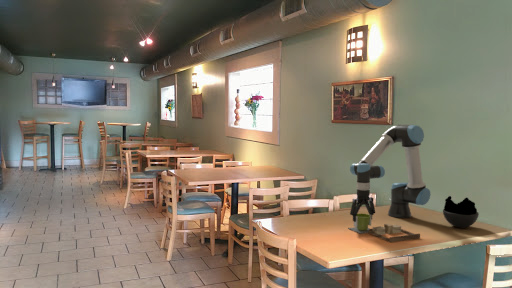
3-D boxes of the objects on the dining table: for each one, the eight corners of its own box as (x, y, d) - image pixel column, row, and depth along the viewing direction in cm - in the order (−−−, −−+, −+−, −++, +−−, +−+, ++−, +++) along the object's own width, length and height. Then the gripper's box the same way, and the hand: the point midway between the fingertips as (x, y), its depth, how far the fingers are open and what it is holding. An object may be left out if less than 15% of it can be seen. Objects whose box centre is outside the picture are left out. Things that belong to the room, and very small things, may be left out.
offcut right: (388, 232, 243) (388, 225, 242) (396, 231, 245) (396, 224, 244) (392, 233, 239) (392, 227, 239) (400, 232, 241) (401, 226, 241)
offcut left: (372, 234, 238) (372, 227, 238) (380, 232, 241) (380, 226, 240) (377, 235, 235) (377, 228, 234) (385, 234, 237) (385, 227, 237)
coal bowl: (485, 229, 248) (486, 199, 247) (460, 232, 241) (462, 201, 240) (458, 222, 267) (460, 193, 266) (435, 224, 260) (436, 195, 259)
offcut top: (384, 224, 241) (388, 223, 242) (384, 232, 242) (388, 231, 243) (388, 225, 238) (392, 225, 239) (388, 234, 238) (392, 233, 239)
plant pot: (373, 229, 246) (373, 215, 245) (365, 232, 239) (366, 217, 238) (359, 226, 252) (359, 212, 251) (351, 229, 245) (351, 215, 245)
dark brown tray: (368, 233, 239) (368, 229, 239) (396, 229, 247) (396, 225, 247) (390, 242, 222) (390, 237, 221) (420, 238, 229) (420, 233, 229)
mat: (348, 228, 249) (348, 228, 249) (364, 226, 253) (364, 226, 253) (360, 233, 238) (360, 233, 238) (376, 231, 242) (376, 231, 242)
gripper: (351, 191, 236) (350, 229, 238) (382, 189, 244) (381, 225, 246) (344, 189, 243) (343, 226, 245) (374, 187, 251) (373, 222, 253)
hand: (362, 225), depth 245 cm, fingers open, 9 cm apart
